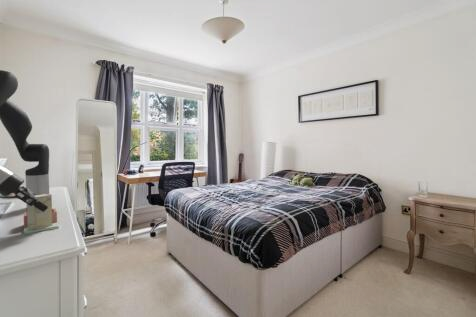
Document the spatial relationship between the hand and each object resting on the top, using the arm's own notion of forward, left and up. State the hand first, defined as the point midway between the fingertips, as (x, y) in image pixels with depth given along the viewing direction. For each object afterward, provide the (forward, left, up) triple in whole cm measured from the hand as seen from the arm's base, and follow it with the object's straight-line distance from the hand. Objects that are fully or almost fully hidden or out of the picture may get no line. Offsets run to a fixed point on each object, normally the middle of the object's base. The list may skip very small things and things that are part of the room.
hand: (45, 207), depth 90 cm
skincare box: (0, -2, -8) cm, 8 cm away
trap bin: (-7, -1, -8) cm, 11 cm away
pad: (0, -1, -8) cm, 8 cm away
